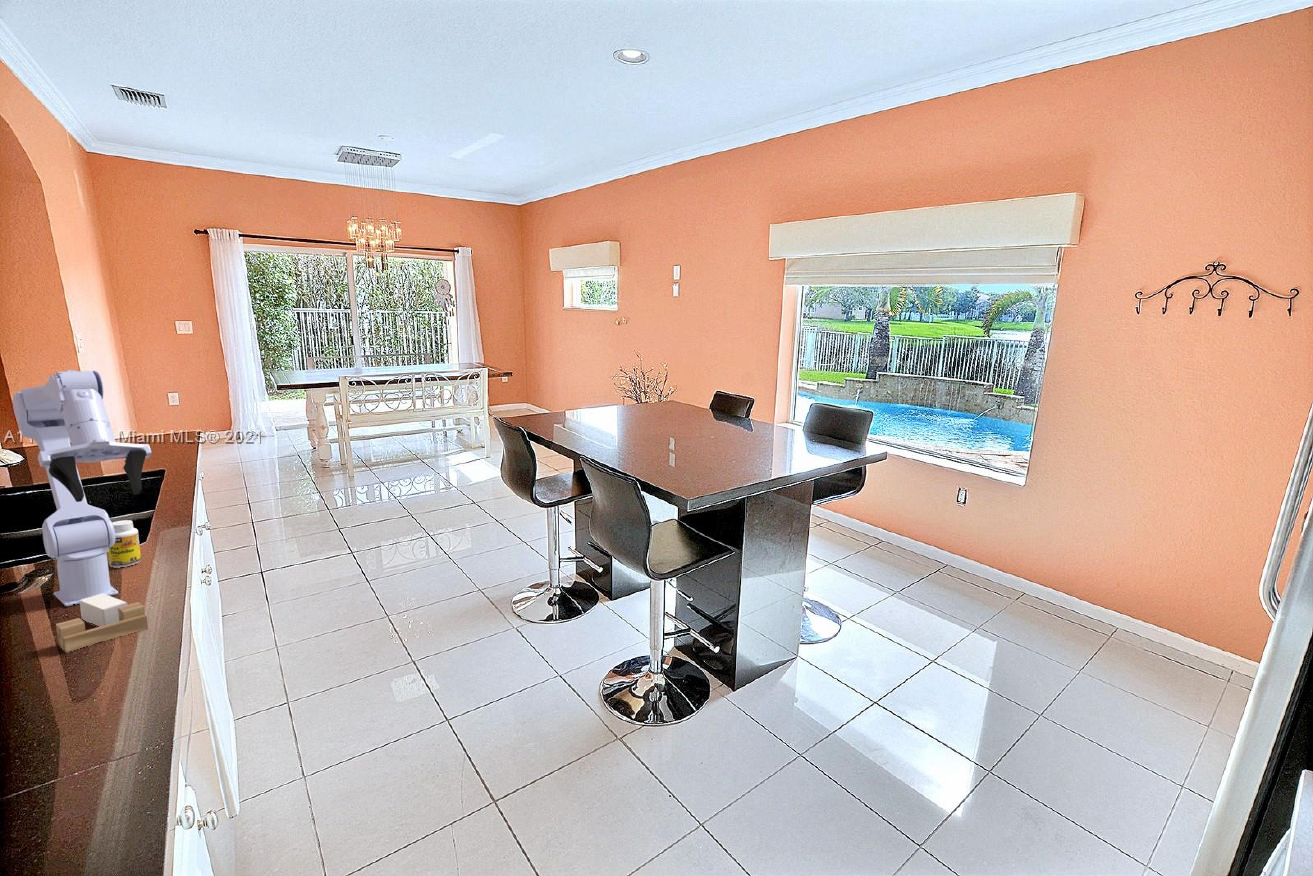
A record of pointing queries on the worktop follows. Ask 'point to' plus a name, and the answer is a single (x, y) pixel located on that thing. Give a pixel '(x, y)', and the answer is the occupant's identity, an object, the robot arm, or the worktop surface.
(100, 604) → the white block
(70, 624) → the tan bridge
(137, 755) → the worktop surface
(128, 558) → the supplement bottle
